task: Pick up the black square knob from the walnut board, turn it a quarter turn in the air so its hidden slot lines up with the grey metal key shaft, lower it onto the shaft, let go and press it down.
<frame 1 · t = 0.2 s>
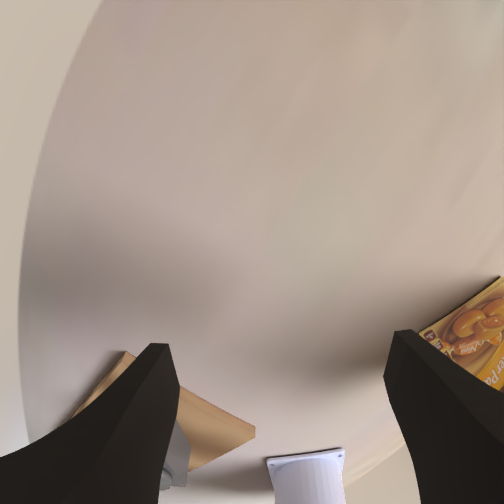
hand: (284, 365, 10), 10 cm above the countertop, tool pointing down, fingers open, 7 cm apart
candy box: (464, 319, 21), on the countertop
parts board: (137, 437, 27), on the countertop
knob: (155, 431, 25), point 1 cm above the countertop, touching parts board
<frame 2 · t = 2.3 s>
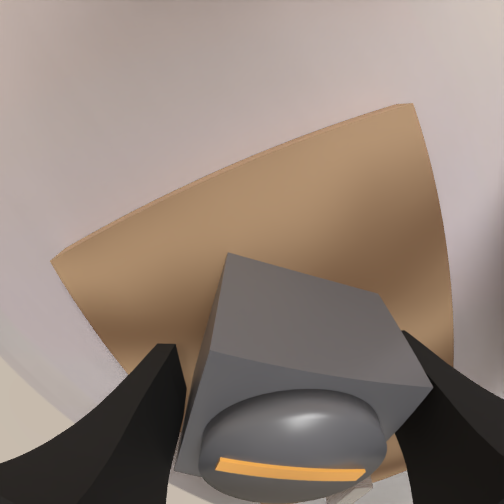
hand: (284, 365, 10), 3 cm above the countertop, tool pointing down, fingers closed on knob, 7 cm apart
parts board: (314, 391, 14), on the countertop
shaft: (337, 437, 15), resting on parts board
knob: (281, 338, 11), point 1 cm above the countertop, touching gripper, parts board
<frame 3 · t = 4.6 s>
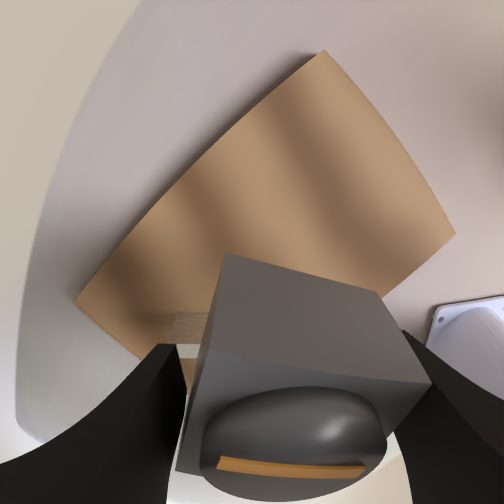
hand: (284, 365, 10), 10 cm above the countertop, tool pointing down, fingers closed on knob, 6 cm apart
parts board: (257, 263, 19), on the countertop
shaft: (204, 308, 20), resting on parts board
knob: (279, 337, 11), point 8 cm above the countertop, touching gripper
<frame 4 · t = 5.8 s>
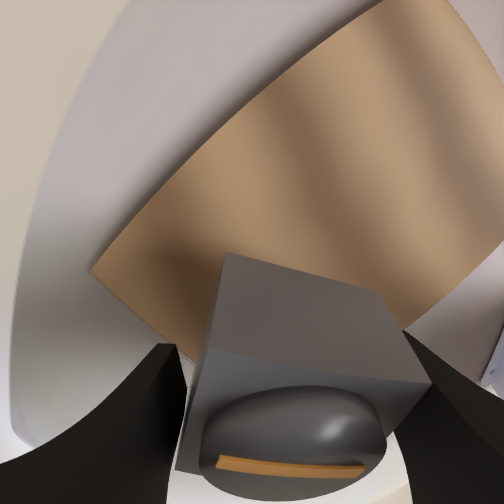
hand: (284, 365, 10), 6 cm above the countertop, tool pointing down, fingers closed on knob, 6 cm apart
parts board: (350, 213, 14), on the countertop
knob: (280, 336, 11), point 5 cm above the countertop, touching gripper
when the fingers open (4 cm above the countertop, at t = 7.0 s): knob stays where it is, resting on parts board.
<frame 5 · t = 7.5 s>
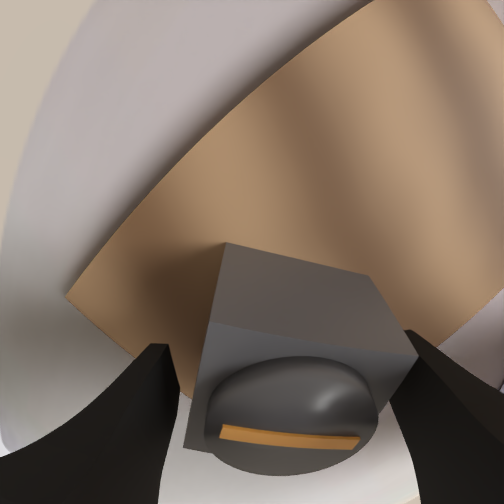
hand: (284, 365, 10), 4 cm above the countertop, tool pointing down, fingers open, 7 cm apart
parts board: (367, 231, 12), on the countertop
knob: (280, 321, 12), point 1 cm above the countertop, touching parts board
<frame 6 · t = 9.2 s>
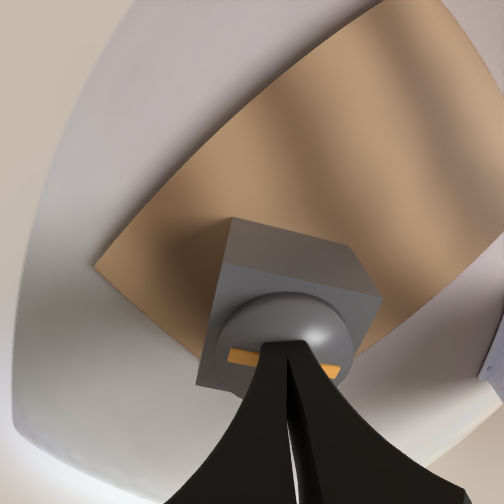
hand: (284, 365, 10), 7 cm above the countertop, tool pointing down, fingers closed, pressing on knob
parts board: (347, 210, 14), on the countertop
knob: (276, 284, 15), point 1 cm above the countertop, touching gripper, parts board
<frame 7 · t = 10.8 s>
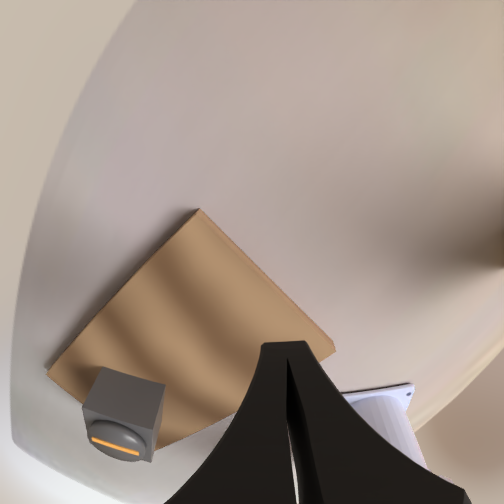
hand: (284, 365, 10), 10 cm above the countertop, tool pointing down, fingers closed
parts board: (168, 362, 23), on the countertop
knob: (133, 396, 23), point 1 cm above the countertop, touching parts board
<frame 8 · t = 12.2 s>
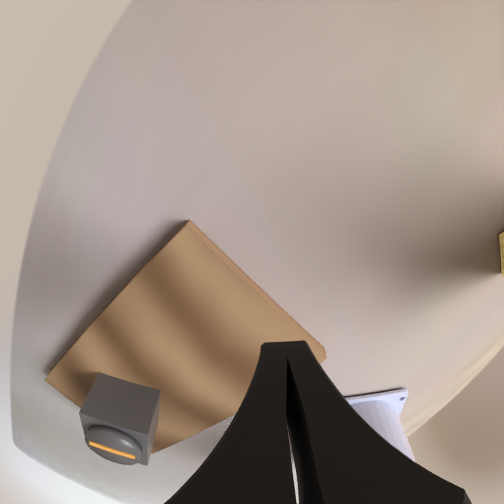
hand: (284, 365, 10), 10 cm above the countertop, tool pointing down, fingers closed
parts board: (163, 368, 23), on the countertop
knob: (129, 401, 24), point 1 cm above the countertop, touching parts board
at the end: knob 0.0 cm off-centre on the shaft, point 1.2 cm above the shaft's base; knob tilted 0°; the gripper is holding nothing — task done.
